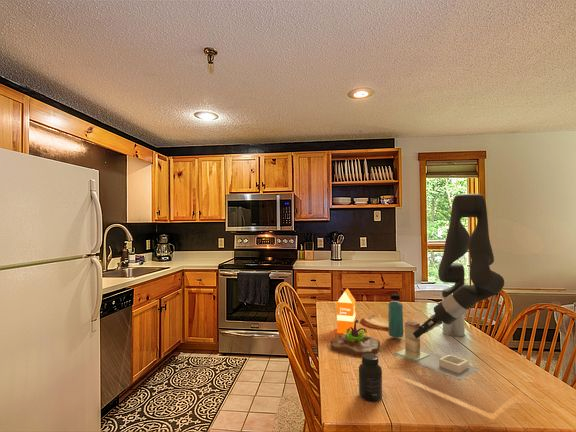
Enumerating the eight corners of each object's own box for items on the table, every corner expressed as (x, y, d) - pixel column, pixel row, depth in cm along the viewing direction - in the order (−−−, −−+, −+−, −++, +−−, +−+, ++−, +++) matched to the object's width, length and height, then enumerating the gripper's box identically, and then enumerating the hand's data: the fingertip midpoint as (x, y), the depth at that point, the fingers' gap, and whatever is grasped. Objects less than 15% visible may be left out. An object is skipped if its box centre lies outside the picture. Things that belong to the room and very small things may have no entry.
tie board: (412, 348, 133) (412, 339, 133) (479, 371, 112) (479, 361, 112) (392, 356, 125) (392, 347, 125) (459, 383, 104) (459, 372, 104)
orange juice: (355, 328, 158) (355, 288, 159) (353, 334, 150) (352, 291, 151) (339, 327, 161) (339, 287, 162) (336, 332, 153) (336, 290, 153)
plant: (385, 344, 138) (385, 318, 139) (371, 360, 122) (370, 331, 122) (343, 335, 149) (342, 311, 150) (324, 349, 133) (324, 322, 133)
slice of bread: (402, 331, 155) (402, 324, 155) (365, 331, 156) (365, 323, 156) (392, 320, 173) (392, 313, 173) (359, 320, 174) (359, 313, 174)
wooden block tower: (410, 350, 127) (410, 320, 128) (420, 353, 124) (419, 322, 125) (405, 353, 125) (404, 322, 125) (415, 356, 122) (414, 325, 122)
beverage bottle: (404, 341, 141) (404, 296, 141) (389, 340, 142) (388, 295, 142) (402, 336, 147) (402, 293, 148) (387, 335, 148) (387, 292, 149)
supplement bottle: (356, 390, 99) (355, 352, 99) (377, 389, 100) (377, 351, 100) (363, 403, 92) (362, 361, 93) (385, 402, 93) (385, 360, 93)
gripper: (449, 296, 122) (420, 320, 130) (435, 303, 112) (404, 328, 119) (465, 313, 118) (433, 337, 126) (452, 321, 108) (418, 346, 116)
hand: (419, 333), depth 123 cm, fingers open, 8 cm apart
